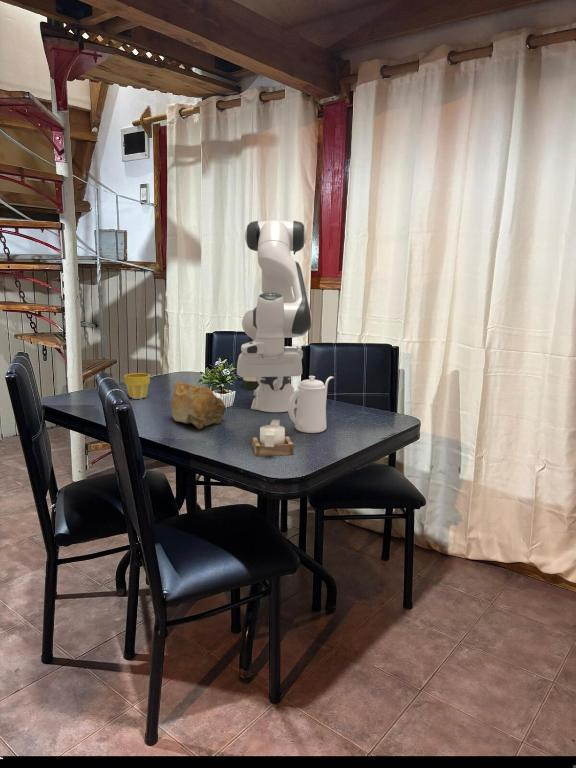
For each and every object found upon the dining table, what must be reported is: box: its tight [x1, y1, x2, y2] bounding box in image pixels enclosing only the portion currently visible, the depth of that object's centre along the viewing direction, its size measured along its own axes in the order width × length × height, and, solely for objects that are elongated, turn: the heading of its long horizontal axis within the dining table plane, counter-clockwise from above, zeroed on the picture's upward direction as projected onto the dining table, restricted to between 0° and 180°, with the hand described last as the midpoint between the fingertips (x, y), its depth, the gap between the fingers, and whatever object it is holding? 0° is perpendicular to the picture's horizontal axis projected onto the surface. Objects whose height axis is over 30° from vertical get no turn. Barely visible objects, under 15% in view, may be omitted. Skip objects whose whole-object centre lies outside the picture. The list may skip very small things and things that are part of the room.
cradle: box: [252, 435, 295, 457], centre depth 175 cm, size 9×11×3 cm
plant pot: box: [123, 372, 151, 398], centre depth 239 cm, size 10×10×10 cm
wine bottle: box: [242, 335, 260, 391], centre depth 259 cm, size 8×8×30 cm
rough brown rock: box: [171, 381, 227, 430], centre depth 203 cm, size 23×17×15 cm
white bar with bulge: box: [259, 419, 286, 447], centre depth 176 cm, size 8×17×7 cm, turn 175°
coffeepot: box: [287, 375, 335, 434], centre depth 197 cm, size 11×25×19 cm, turn 141°
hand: (269, 390), depth 179 cm, fingers open, 3 cm apart
